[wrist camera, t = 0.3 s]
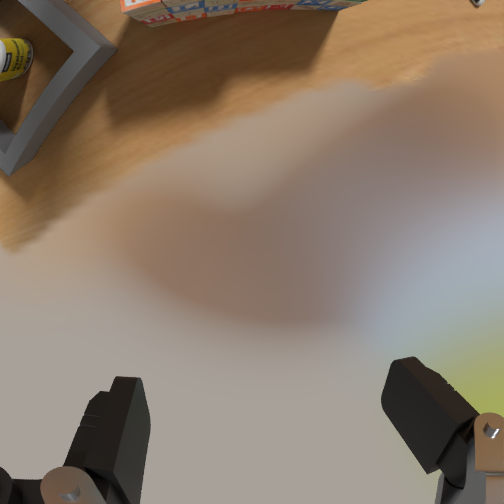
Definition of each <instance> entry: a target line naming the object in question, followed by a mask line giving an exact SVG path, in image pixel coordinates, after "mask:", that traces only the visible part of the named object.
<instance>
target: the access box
mask: <svg viewBox="0 0 504 504" xmlns="http://www.w3.org/2000/svg"><path fill="white" fill-rule="evenodd" d="M0 1H1V0H0ZM18 1H19V2H20V3H22V4H23V5H24V6H25V7H26V8H27V9H28V10H29V11H30V12H32V13H33V14H34V15H35V16H36V17H37V18H38V19H39V20H40V21H42V22H43V23H44V24H45V25H46V26H47V27H48V28H49V29H50V30H51V31H53V32H54V33H55V34H56V35H57V36H58V37H59V38H60V39H61V40H62V41H64V42H65V43H66V44H67V45H68V46H69V47H70V48H71V49H72V50H73V51H74V52H73V53H72V55H71V56H70V57H69V58H68V59H67V61H66V62H65V63H64V64H63V66H62V67H61V68H60V69H59V71H58V72H57V73H56V75H55V76H54V77H53V79H52V80H51V81H50V83H49V84H48V86H47V87H46V88H45V90H44V91H43V93H42V94H41V95H40V97H39V98H38V100H37V101H36V103H35V104H34V106H33V107H32V109H31V110H30V112H29V114H28V115H27V117H26V118H25V120H24V122H23V123H22V125H21V127H20V128H19V130H18V132H17V133H16V135H15V134H14V133H13V132H12V131H11V130H10V129H9V128H8V127H7V125H6V124H5V123H4V122H3V121H2V120H1V119H0V169H1V170H2V171H3V172H4V173H5V174H6V175H7V176H8V177H9V176H11V175H12V174H13V173H15V172H16V171H17V170H19V169H20V168H21V167H23V166H24V165H25V164H27V163H28V162H30V161H31V160H32V159H33V157H34V156H35V154H36V153H37V151H38V149H39V148H40V146H41V145H42V143H43V142H44V140H45V139H46V137H47V136H48V134H49V133H50V131H51V130H52V128H53V127H54V126H55V124H56V123H57V121H58V120H59V119H60V117H61V116H62V114H63V113H64V112H65V110H66V109H67V108H68V106H69V105H70V104H71V103H72V101H73V100H74V99H75V97H76V96H77V95H78V94H79V93H80V91H81V90H82V89H83V88H84V86H85V85H86V84H87V83H88V82H89V80H90V79H91V78H92V77H93V76H94V75H95V74H96V72H97V71H98V70H99V69H100V68H101V67H102V66H103V65H104V64H105V62H106V61H107V60H108V59H109V58H110V57H111V56H112V55H113V54H114V53H115V52H116V51H117V50H118V49H117V48H116V47H115V46H114V45H113V44H112V43H111V42H110V41H109V40H108V39H106V38H105V37H104V36H103V35H102V34H101V33H100V32H99V31H98V30H96V29H95V28H94V27H93V26H92V25H91V24H90V23H89V22H87V21H86V20H85V19H84V18H83V17H82V16H81V15H80V14H78V13H77V12H76V11H75V10H74V9H73V8H71V7H70V6H69V5H68V4H67V3H66V2H64V1H63V0H18Z"/></svg>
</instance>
